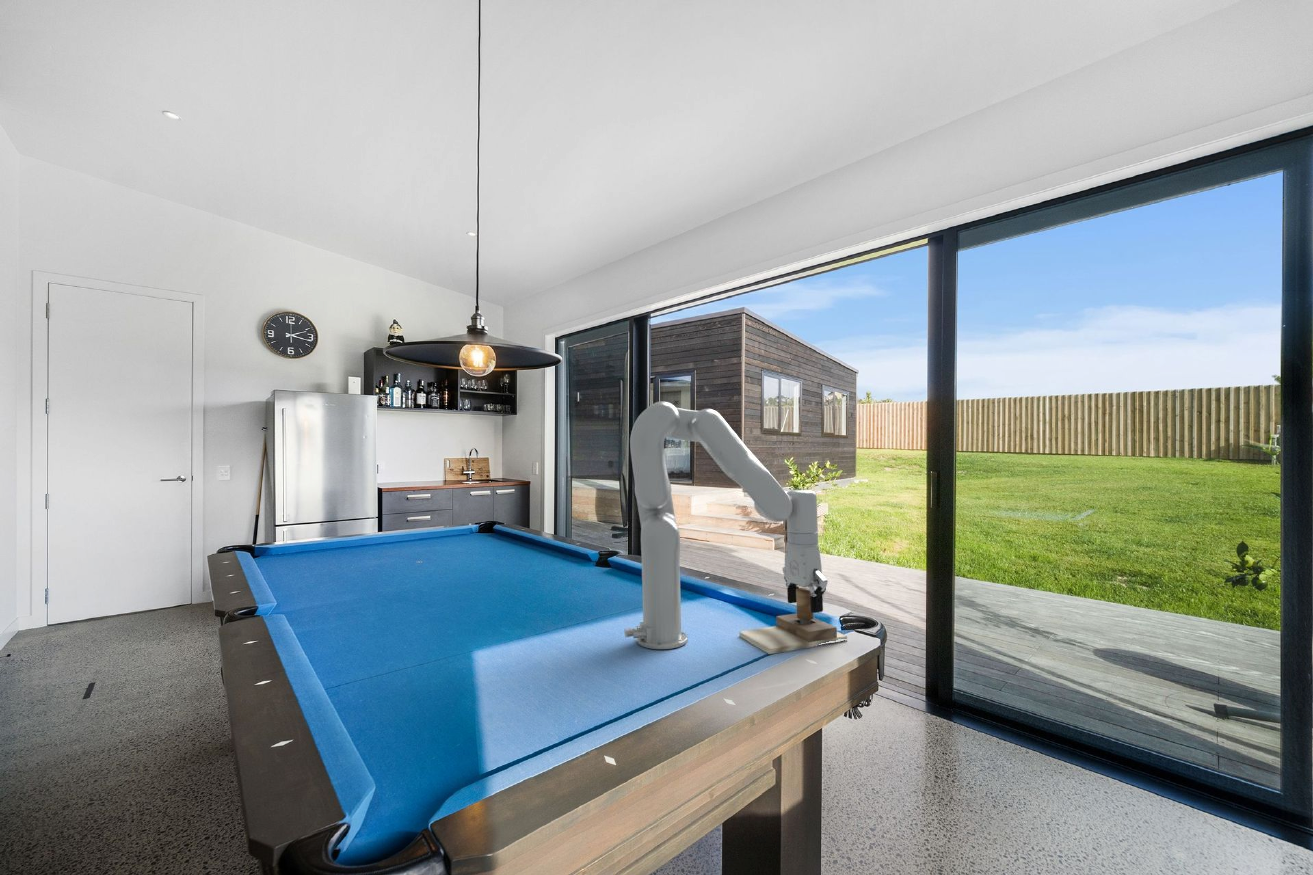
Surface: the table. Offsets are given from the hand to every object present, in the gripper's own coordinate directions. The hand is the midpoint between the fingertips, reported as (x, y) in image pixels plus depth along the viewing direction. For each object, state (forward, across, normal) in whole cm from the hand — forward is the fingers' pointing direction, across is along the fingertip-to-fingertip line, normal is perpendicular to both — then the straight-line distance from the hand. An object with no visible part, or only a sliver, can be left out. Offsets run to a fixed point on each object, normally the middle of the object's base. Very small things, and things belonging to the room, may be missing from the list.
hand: (804, 607), depth 139 cm
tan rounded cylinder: (+6, 0, 0) cm, 6 cm away
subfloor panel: (+7, 0, -4) cm, 8 cm away
